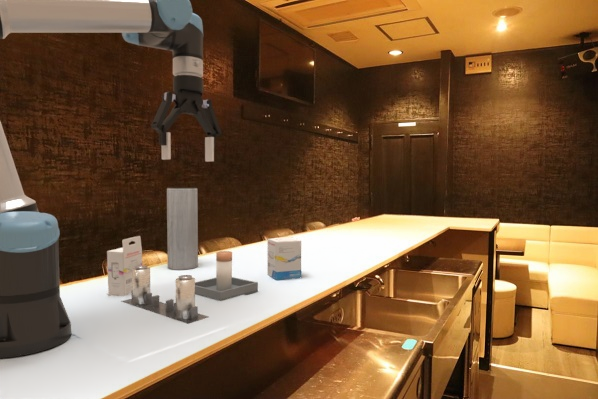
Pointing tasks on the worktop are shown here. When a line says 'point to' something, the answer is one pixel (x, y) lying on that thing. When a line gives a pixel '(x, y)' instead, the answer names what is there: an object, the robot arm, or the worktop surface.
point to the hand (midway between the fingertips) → (188, 160)
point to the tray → (238, 288)
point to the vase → (182, 228)
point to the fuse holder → (178, 311)
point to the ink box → (284, 258)
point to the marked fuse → (223, 270)
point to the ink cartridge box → (123, 266)
